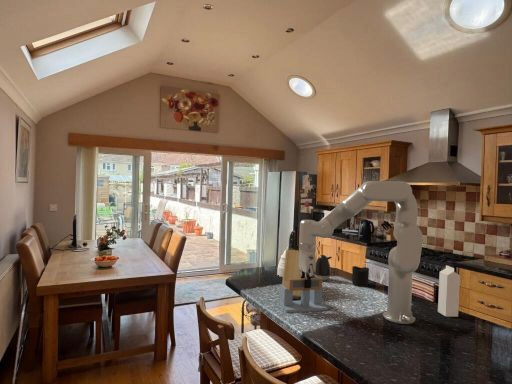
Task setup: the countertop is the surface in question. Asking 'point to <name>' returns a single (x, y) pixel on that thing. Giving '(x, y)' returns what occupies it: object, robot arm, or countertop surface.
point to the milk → (448, 292)
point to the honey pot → (281, 264)
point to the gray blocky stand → (301, 301)
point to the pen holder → (360, 276)
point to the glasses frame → (302, 284)
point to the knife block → (292, 264)
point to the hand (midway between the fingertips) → (305, 286)
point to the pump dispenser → (323, 268)
